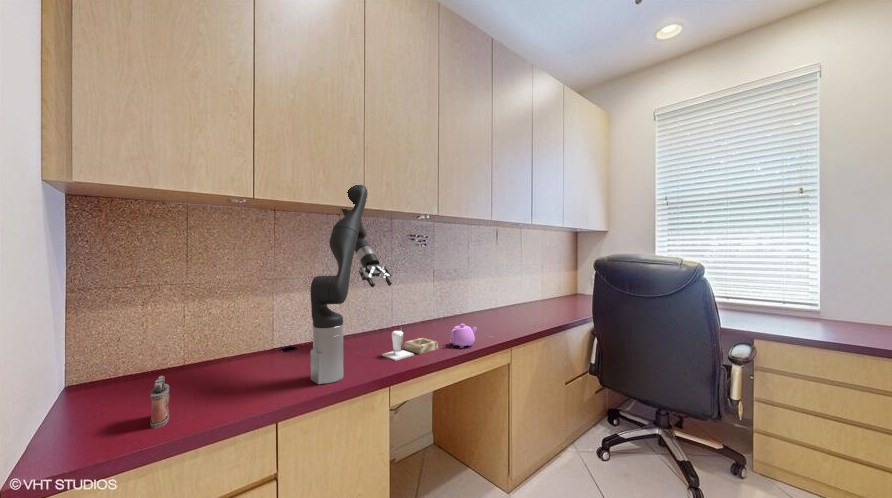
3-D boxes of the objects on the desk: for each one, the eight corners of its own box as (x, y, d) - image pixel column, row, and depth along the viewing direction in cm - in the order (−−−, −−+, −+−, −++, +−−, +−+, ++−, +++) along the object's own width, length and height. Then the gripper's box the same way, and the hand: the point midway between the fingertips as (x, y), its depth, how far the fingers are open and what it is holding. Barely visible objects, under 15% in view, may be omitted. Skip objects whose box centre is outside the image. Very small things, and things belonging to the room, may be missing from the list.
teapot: (443, 345, 143) (443, 324, 144) (469, 339, 152) (469, 319, 152) (458, 351, 135) (457, 328, 135) (484, 344, 144) (484, 323, 144)
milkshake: (406, 352, 131) (406, 327, 132) (399, 356, 127) (399, 330, 127) (397, 351, 133) (396, 326, 133) (389, 354, 128) (389, 329, 129)
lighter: (167, 425, 78) (167, 382, 78) (148, 429, 76) (148, 386, 76) (170, 411, 85) (170, 373, 85) (153, 415, 83) (153, 375, 83)
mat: (395, 360, 123) (395, 359, 123) (382, 355, 130) (381, 354, 130) (414, 355, 130) (414, 353, 130) (400, 350, 136) (400, 349, 136)
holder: (419, 354, 131) (419, 346, 131) (404, 349, 138) (404, 342, 138) (438, 348, 138) (437, 341, 138) (422, 344, 145) (422, 337, 145)
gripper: (356, 252, 142) (371, 280, 134) (384, 252, 152) (399, 278, 144) (350, 264, 146) (364, 292, 138) (378, 263, 156) (392, 289, 148)
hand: (382, 285), depth 141 cm, fingers open, 8 cm apart
